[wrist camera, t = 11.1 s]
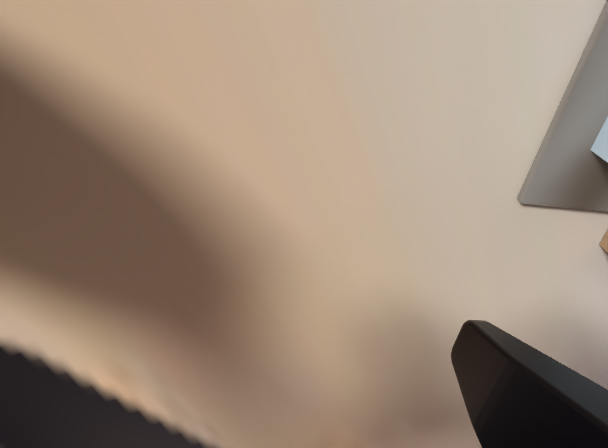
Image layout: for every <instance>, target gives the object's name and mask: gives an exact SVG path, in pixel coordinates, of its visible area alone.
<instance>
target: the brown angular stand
mask: <svg viewBox="0 0 608 448" xmlns="http://www.w3.org/2000/svg"><path fill="white" fill-rule="evenodd" d="M607 117H608V0H607V2H606V4H605V6H604V8H603V11H602V13H601V15H600V17H599V19H598V22H597V24H596V26H595V28H594V30H593V33H592V35H591V37H590V39H589V41H588V44H587V46H586V48H585V50H584V52H583V55H582V57H581V59H580V61H579V63H578V66H577V68H576V70H575V72H574V74H573V77H572V79H571V81H570V83H569V85H568V88H567V90H566V92H565V94H564V96H563V99H562V101H561V103H560V105H559V107H558V110H557V112H556V114H555V116H554V118H553V121H552V123H551V125H550V127H549V129H548V132H547V134H546V136H545V138H544V140H543V143H542V145H541V147H540V149H539V151H538V154H537V156H536V158H535V160H534V162H533V165H532V167H531V169H530V171H529V173H528V176H527V178H526V180H525V182H524V184H523V187H522V189H521V191H520V193H519V195H518V198H517V200H518V201H519V202H520V203H521V204H532V205H542V206H552V207H562V208H573V209H583V210H593V211H604V212H608V163H607V162H606V161H605V160H603V159H602V158H601V157H599V156H598V155H597V154H595V153H594V152H592V151H591V148H592V146H593V144H594V142H595V140H596V138H597V136H598V134H599V132H600V130H601V128H602V126H603V124H604V122H605V121H606V119H607ZM599 245H600V246H601V247H602V248H603V249H604V250H605V251H606V252H607V253H608V231H607V232H606V234H605V236H604V237H603V239H602V241H601V242H600V244H599Z"/></svg>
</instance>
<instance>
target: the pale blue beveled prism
mask: <svg viewBox="0 0 608 448" xmlns="http://www.w3.org/2000/svg"><path fill="white" fill-rule="evenodd" d="M591 151H592V152H594V153H595V154H597V155H598V156H599V157H601V158H602V159H603V160H605V161H606V162H607V163H608V117H607V119H606V121H605V122H604V124H603V126H602V128H601V130H600V132H599V134H598V136H597V138H596V140H595V142H594V144H593V146H592V148H591Z"/></svg>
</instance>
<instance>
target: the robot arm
mask: <svg viewBox="0 0 608 448" xmlns="http://www.w3.org/2000/svg"><path fill="white" fill-rule="evenodd" d="M451 359H452V364H453V367H454V370H455V373H456V377H457V380H458V383H459V386H460V389H461V392H462V395H463V398H464V402H465V405H466V408H467V411H468V414H469V417H470V420H471V422H472V425H473V428H474V430H475V432H476V435H477V437H478V439H479V442H480V444H481V446H482V448H608V390H607V389H605V388H603V387H602V386H600V385H598V384H596V383H595V382H593V381H591V380H589V379H588V378H586V377H584V376H582V375H580V374H579V373H577V372H575V371H573V370H572V369H570V368H568V367H566V366H565V365H563V364H561V363H559V362H558V361H556V360H554V359H552V358H551V357H549V356H547V355H545V354H543V353H542V352H540V351H538V350H536V349H535V348H533V347H531V346H529V345H528V344H526V343H524V342H522V341H521V340H519V339H517V338H515V337H514V336H512V335H510V334H508V333H506V332H505V331H503V330H501V329H499V328H498V327H496V326H494V325H492V324H491V323H489V322H486V321H481V320H468V321H466V322H465V323H464V324H463V326H462V328H461V330H460V332H459V335H458V337H457V339H456V341H455V343H454V345H453V348H452V352H451Z"/></svg>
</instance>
